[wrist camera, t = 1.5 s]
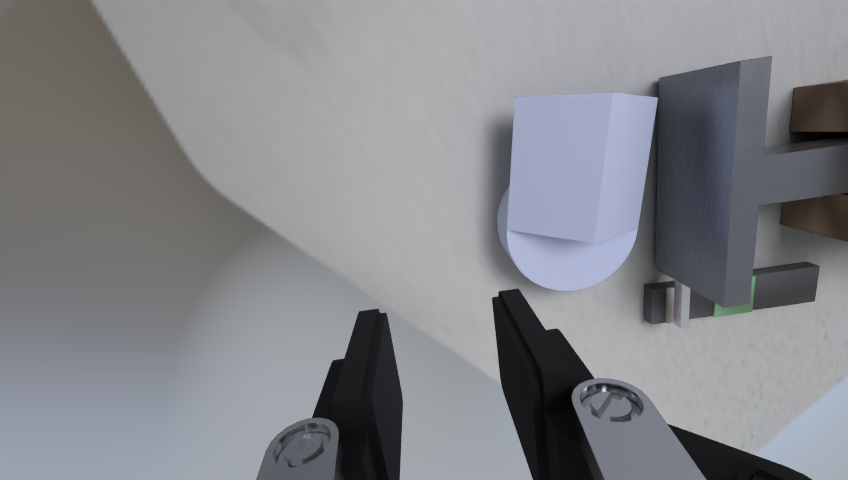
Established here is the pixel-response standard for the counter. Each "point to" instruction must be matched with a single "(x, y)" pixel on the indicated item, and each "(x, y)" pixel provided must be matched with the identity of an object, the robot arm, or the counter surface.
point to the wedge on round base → (575, 185)
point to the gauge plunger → (726, 178)
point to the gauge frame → (825, 215)
